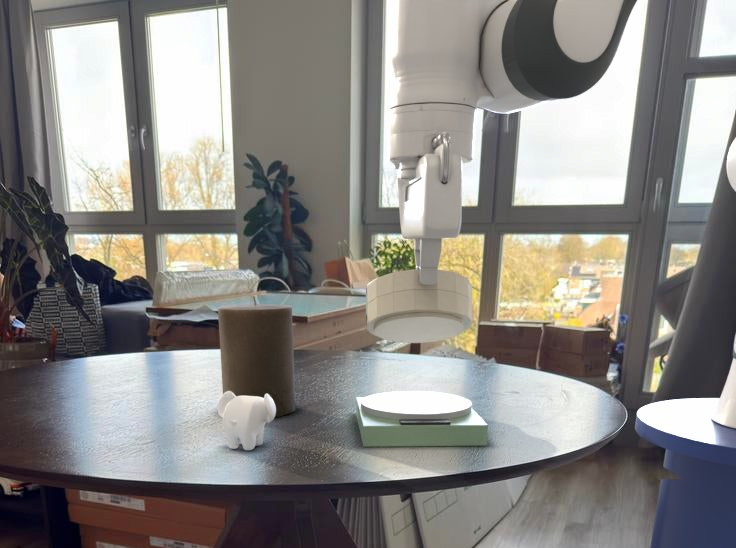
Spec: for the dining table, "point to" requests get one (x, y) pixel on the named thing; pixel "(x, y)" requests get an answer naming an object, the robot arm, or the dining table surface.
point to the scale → (419, 420)
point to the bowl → (418, 307)
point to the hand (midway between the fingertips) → (425, 284)
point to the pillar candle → (258, 352)
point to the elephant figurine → (245, 418)
